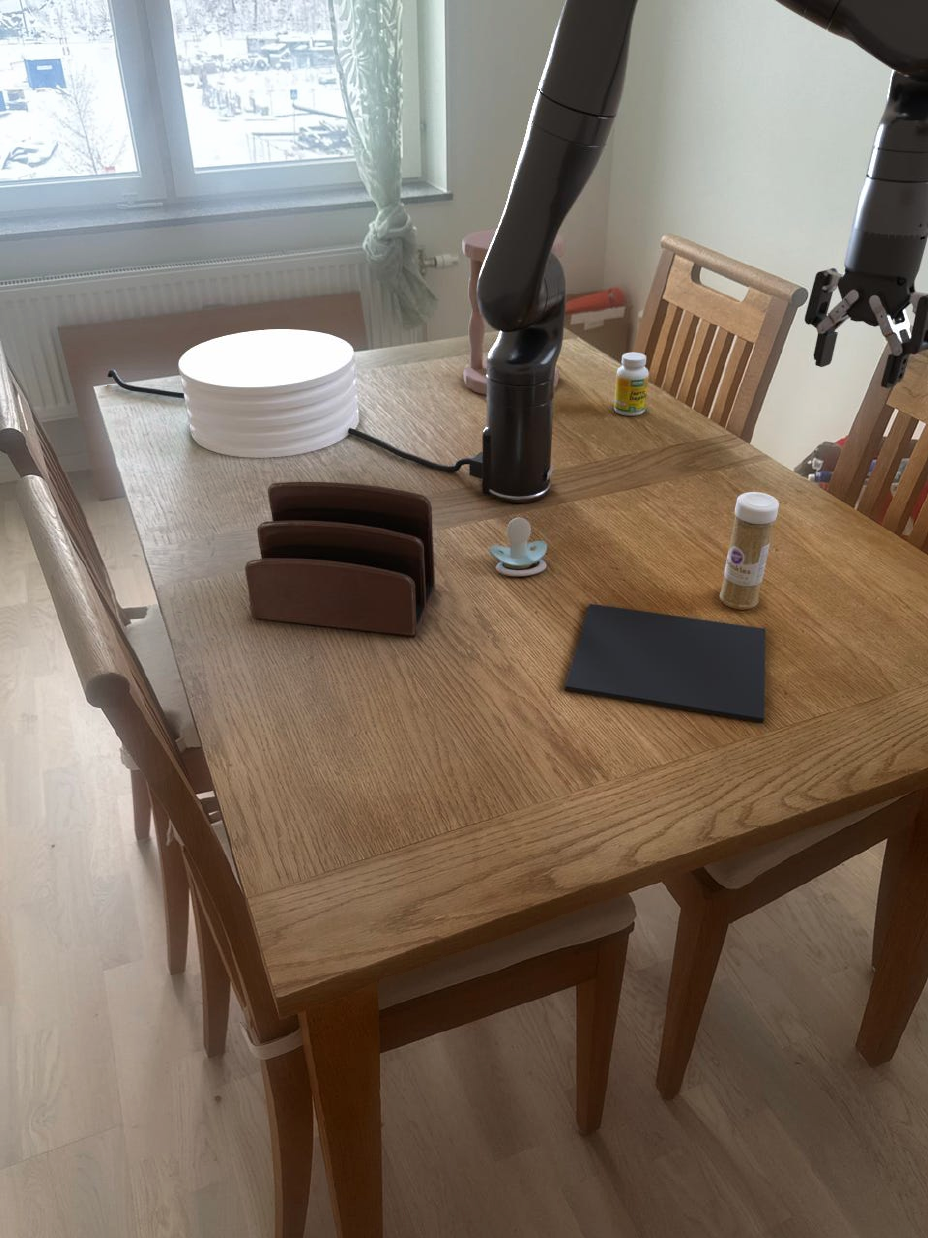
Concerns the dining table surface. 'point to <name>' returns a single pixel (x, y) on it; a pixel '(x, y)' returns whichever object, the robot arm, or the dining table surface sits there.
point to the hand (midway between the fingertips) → (854, 375)
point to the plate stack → (270, 392)
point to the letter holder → (344, 557)
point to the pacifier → (519, 551)
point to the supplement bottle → (631, 385)
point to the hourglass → (477, 251)
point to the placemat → (671, 662)
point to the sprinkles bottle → (748, 549)
